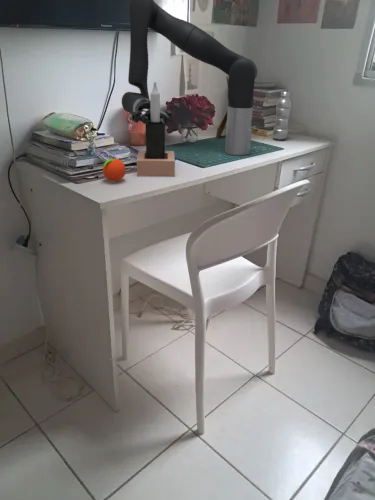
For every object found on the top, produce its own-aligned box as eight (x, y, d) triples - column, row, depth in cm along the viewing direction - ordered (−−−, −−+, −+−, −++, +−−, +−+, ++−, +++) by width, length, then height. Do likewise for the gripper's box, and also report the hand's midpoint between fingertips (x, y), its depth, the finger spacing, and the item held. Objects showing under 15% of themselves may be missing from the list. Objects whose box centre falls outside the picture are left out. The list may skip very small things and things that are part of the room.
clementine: (112, 186, 119) (110, 163, 116) (96, 181, 123) (94, 159, 119) (130, 180, 125) (129, 157, 121) (115, 175, 128) (113, 153, 125)
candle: (157, 165, 130) (156, 83, 118) (144, 162, 132) (143, 81, 120) (166, 162, 134) (166, 81, 121) (153, 159, 136) (153, 80, 124)
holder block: (173, 165, 140) (173, 151, 137) (174, 176, 129) (174, 161, 127) (139, 165, 139) (138, 150, 137) (137, 176, 128) (136, 160, 126)
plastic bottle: (288, 139, 179) (295, 91, 170) (283, 142, 174) (290, 93, 165) (275, 137, 182) (281, 90, 173) (269, 139, 177) (275, 91, 168)
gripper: (124, 99, 134) (134, 108, 120) (165, 98, 138) (179, 107, 124) (125, 122, 138) (134, 134, 124) (165, 121, 142) (179, 132, 128)
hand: (157, 120), depth 124 cm, fingers closed on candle, 6 cm apart
